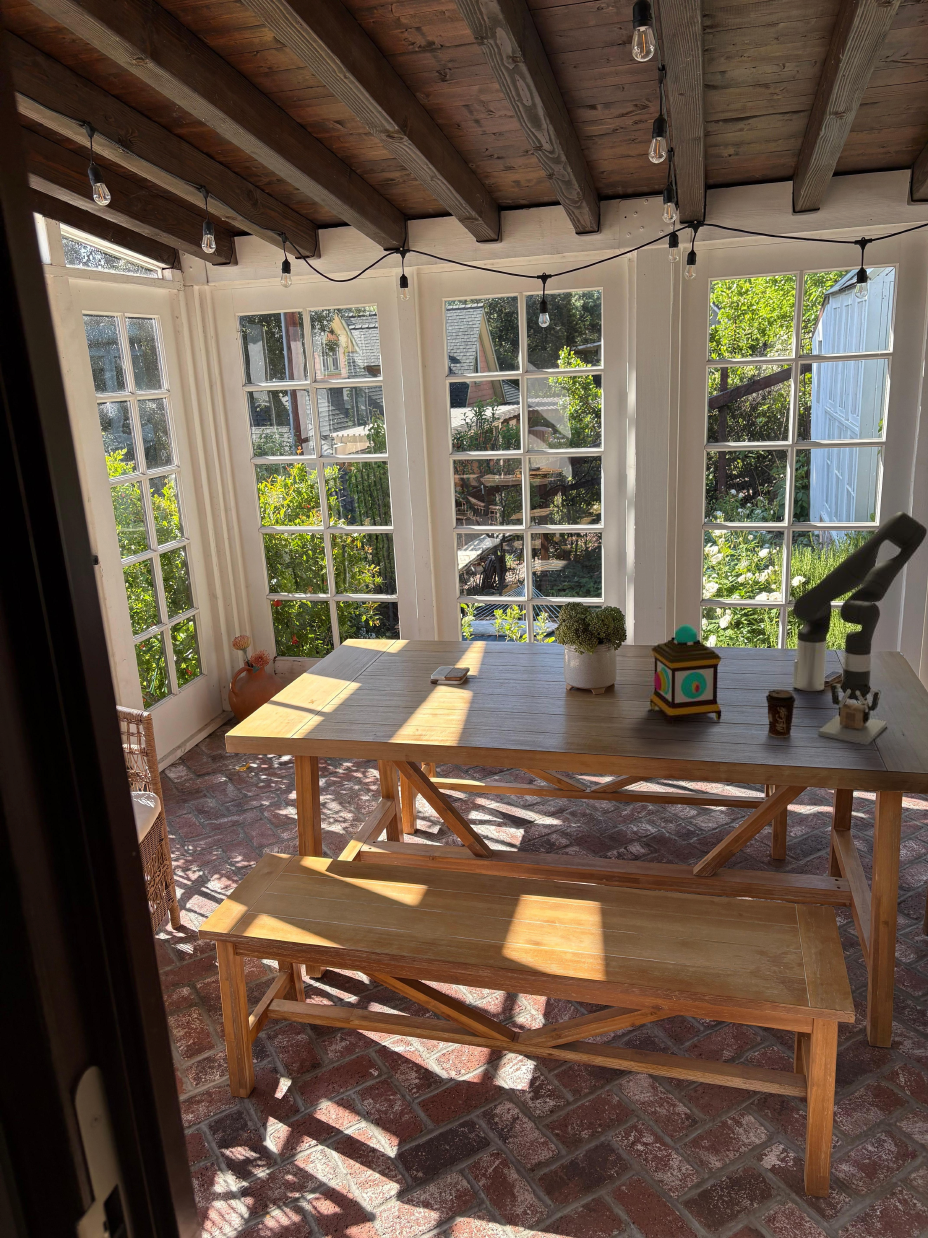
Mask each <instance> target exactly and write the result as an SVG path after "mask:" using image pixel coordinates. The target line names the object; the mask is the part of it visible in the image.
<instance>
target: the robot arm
mask: <svg viewBox="0 0 928 1238" xmlns="http://www.w3.org/2000/svg"><path fill="white" fill-rule="evenodd" d="M927 533H928V529H927V527H925V526H924V525H923V524H921V522H919V521H917V520H916V519H915V518H913V516H911V515H909V514H907V513H906V512H904V511H899V512H896V513H894V515H892V516H891V517H889V519H888V520H886V521H885V522H884V523H883V524H882V525H881V526H880V528H878V530H876V532H875V533H874V534H872V535H871V537H869V538H868V539H867V541H865V542H864V543H863V544H861V546H859V547H858V548H857V549H856V550H854V551H853V552H852V553H851V554H849V555H848V556H847V557H846V558H844V559H843V561H842V562H840V563H839V564H838V565H836V567H835V568H833V570H831V571H830V572H829V573H828V574H827V575H826V576H825V577H824V578H822V579H821V581H819V582H818V583H817V584H816V585H815V586H814V587H812V588H811V589H809V590H807V591H806V592H805V593H802V595H800V596H799V597H798V598H797V599H796V600H795V601H794V604H793V614H794V616H795V617H796V619H798V620H799V621H802V622H805V623H804V624H803V625H802V627H801V628H800V629H799V630H798V631H797V643H796V659H795V660H794V662H793V663H794V664H793V682H792V683H793V684H792V687H793V688H794V689H795V688H796V689H798V690H801V691H805V692H820V691H823V690H824V689H825V676H826V673H825V672H826V656H827V655H826V654H827V653H826V652H827V639H828V638H827V637H828V633H829V632H830V629H831V620H832V602H833V601H835V600H837V599H838V598H840V597H842V596H845V595H846V594H849V593H850V592H852V591H853V590H855V589H856V590H855V591H853V592H852V593H851V594H850V595H849V596H848V597H847V598H846V599H845V600H844V601H843V602H842V605H841V607H840V609H839V610H840V611H839V613H840V614H839V615H840V618H841V620H842V621H843V622H845V623H848V624H851V625H858V626H861V629H860V630H853V631H849V632H847V633H846V635H845V643H844V645H845V646H844V655H843V661H842V679H841V680H842V682H841V684H839V683H836V682H835V683H832V684H831V685H830V692H831V701H832V704H833V705H836V706H838V714H839V717H840V708H841V707H842V706H844V705H845V704H846V703H847V702H848V701H849V700H850V701H851V700H854V701H857V702H859V704H861V705H862V706H863V709H864V716H863V723H866V722H868V721H869V719H871V712H874V711H875V710H877V708H878V705H879V701H880V698H881V694H882V691H881V690H880V689H876V690H875V689H872V688H871V685H870V683H871V669H872V653H871V652H872V642H873V636H874V633H875V630H876V628H877V625H878V622H879V620H880V617H881V611H880V610H881V609H880V608H879V605H878V604H876V603H879V602H881V601H882V600H883V598H884V597H885V595H886V593H887V592H888V590H889V589H890V586H891V585H892V583H893V581H894V580H895V578H896V577H897V576H898V574H899V573H900V571H901V570H902V569H903V568H904V567H905V565H906V564H907V563H908V561H909V560H910V559H911V557H913V555H914V554H915V553H916V551H917V550H918V549H919V547H920V546H921V545H922V543H923V541H924V540H925V539H926V536H927ZM886 541H888V542H890V543H891V544H893V545H894V546H896V547H897V548H899V549H900V551H899V553H898V554H897V555H896V556H893V557H892V558H890V559H888V560H884V561H882V562H880V563H878V564H877V562H878V561H877V559H878V553H879V551H880V548H881V545H882V544H883V543H884V542H886ZM840 690H841V691H842V693H843V694H844V695H842V697H841V699H840V694H839V691H840ZM869 694H870V696H871V698H872V702H871V705H870V703H869V698H868V695H869Z"/></svg>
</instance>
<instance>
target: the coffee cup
mask: <svg viewBox="0 0 928 1238" xmlns="http://www.w3.org/2000/svg"><path fill="white" fill-rule="evenodd" d="M765 698H766V699H765V700H766V702H767V719H768V730H767V733H768V735H769V734H770V735H769V736H771V737H773V736H774V737H773V738H780V737H782V738H783V737H785V738H788V737H789V736H790V735H791V730H792V725H793V718H794V717H793V716H794V710H795V702H796V698H795V696H794V693H793V692H792V691H790V690H787V689H772V690H768V694H767V695H766V696H765ZM782 738H781V739H782ZM783 739H784V738H783Z"/></svg>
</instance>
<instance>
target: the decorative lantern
mask: <svg viewBox="0 0 928 1238" xmlns="http://www.w3.org/2000/svg"><path fill="white" fill-rule="evenodd" d="M651 652H652V655H653V657H654V679H653V682H654V691H653V693H652V695H651V697H650V701H649V702H650V703H649V704H650V709H652V710H654V709H656V707H657V708H658V709H659V710H660V711H662V713H663V714H665V715H666V716H667V723H668V725H669V726H673V723H674V719H675V718H679V717H689V716H697V715H699V716H700V715H709V714H715V719H716V721H720V720H721V719H722V710H721V707H720V705H719V702H718V676H719V675H718V668H719V664H720V663H721V660H722V656H720V655H719V653H717V652H716V651H715V650H713V649H712V648H710V647H709V646H708V645H706V644H704V643H702V642H701V640H699V639H698V633H697V630H696V629H694V628H693V627H692V626H691V625H689V624H683V625H681V626H679V627H678V628H677V629H676V630H675V632H674V637H671V638H670V639H669V640H667V641H665V642H664V643H658V644H657V645H655V646H653V647H652V648H651Z"/></svg>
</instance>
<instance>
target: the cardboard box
mask: <svg viewBox="0 0 928 1238" xmlns="http://www.w3.org/2000/svg"><path fill="white" fill-rule="evenodd" d="M863 716H864V709H863V706H862V705H861V703H856V702H850V701H847V702H846V703H845V705H844V706H842V707H841V708H840V725H841V726H847V727H852V728H857V729H861V728H862V727H863V726H864V725H865V724H866V723H867V722H866V723H863Z"/></svg>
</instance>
